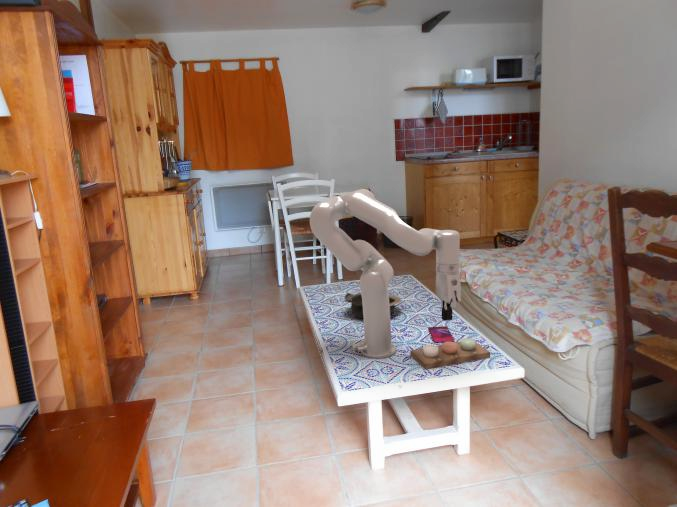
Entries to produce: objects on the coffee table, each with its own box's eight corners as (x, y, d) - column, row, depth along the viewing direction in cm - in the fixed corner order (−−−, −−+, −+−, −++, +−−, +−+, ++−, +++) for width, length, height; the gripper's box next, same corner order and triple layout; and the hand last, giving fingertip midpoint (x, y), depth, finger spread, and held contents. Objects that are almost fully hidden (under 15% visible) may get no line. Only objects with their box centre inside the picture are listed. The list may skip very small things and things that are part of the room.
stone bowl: (338, 321, 215) (337, 300, 214) (355, 306, 239) (354, 287, 237) (395, 323, 207) (394, 301, 206) (407, 308, 230) (406, 288, 229)
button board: (424, 369, 166) (424, 363, 165) (410, 355, 177) (410, 350, 177) (490, 357, 172) (490, 351, 171) (472, 344, 183) (472, 339, 182)
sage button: (465, 351, 173) (464, 344, 172) (457, 346, 177) (457, 339, 177) (478, 348, 174) (478, 342, 173) (470, 343, 179) (470, 337, 178)
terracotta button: (446, 354, 171) (446, 348, 170) (439, 349, 176) (439, 342, 175) (459, 352, 172) (459, 345, 172) (452, 346, 177) (452, 340, 176)
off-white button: (427, 358, 169) (427, 351, 169) (421, 352, 174) (420, 346, 173) (440, 355, 170) (440, 349, 170) (434, 350, 175) (434, 343, 175)
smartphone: (433, 342, 187) (427, 327, 201) (434, 344, 187) (427, 329, 201) (454, 341, 186) (447, 326, 201) (455, 343, 186) (447, 328, 201)
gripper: (469, 271, 161) (467, 325, 166) (447, 261, 175) (446, 311, 180) (447, 274, 160) (447, 328, 164) (427, 263, 174) (427, 313, 178)
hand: (446, 319), depth 172 cm, fingers closed
